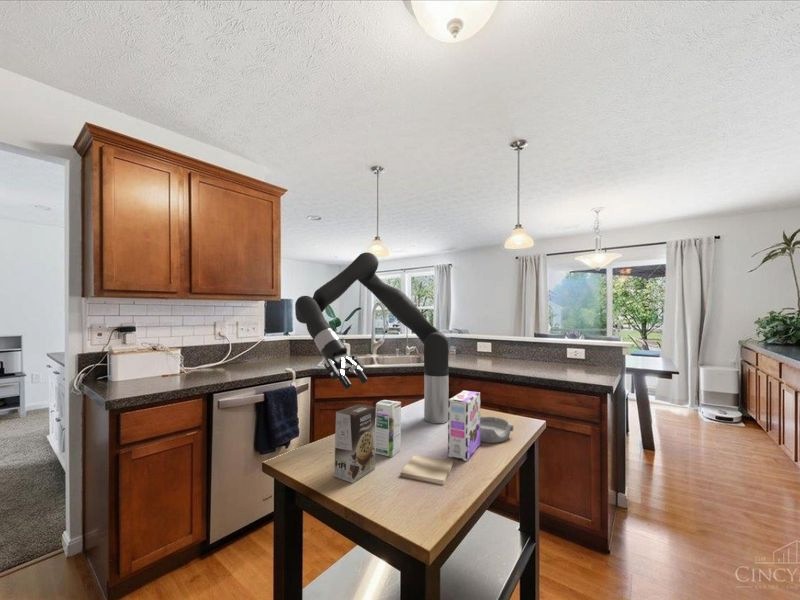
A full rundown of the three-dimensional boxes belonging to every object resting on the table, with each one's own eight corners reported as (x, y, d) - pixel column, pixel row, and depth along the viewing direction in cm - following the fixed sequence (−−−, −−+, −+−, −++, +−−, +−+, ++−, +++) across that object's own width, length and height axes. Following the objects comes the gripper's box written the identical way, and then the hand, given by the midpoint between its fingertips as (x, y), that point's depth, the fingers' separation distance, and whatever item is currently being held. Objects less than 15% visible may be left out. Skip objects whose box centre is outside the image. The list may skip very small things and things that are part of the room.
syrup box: (374, 453, 96) (374, 403, 97) (384, 446, 102) (385, 398, 102) (391, 457, 94) (392, 405, 94) (401, 450, 99) (401, 401, 100)
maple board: (414, 458, 93) (414, 454, 93) (453, 465, 90) (453, 461, 90) (400, 476, 83) (400, 472, 83) (443, 484, 79) (443, 480, 79)
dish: (516, 436, 112) (516, 420, 112) (499, 448, 101) (499, 432, 101) (477, 426, 121) (477, 412, 121) (457, 437, 111) (457, 421, 111)
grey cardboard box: (353, 484, 79) (354, 415, 80) (333, 476, 83) (334, 411, 83) (376, 469, 87) (376, 406, 88) (356, 463, 90) (357, 403, 91)
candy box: (467, 462, 91) (467, 401, 92) (447, 457, 94) (447, 398, 95) (481, 445, 103) (481, 391, 104) (462, 441, 106) (463, 389, 107)
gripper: (338, 350, 118) (364, 387, 111) (308, 355, 105) (335, 396, 99) (350, 336, 115) (377, 373, 109) (321, 339, 103) (350, 381, 97)
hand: (357, 384), depth 104 cm, fingers open, 8 cm apart
